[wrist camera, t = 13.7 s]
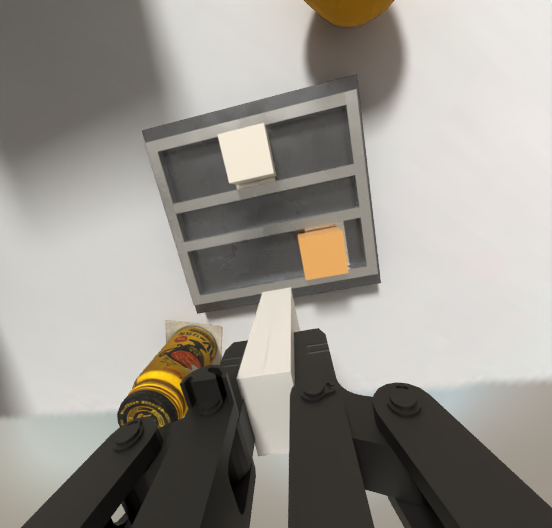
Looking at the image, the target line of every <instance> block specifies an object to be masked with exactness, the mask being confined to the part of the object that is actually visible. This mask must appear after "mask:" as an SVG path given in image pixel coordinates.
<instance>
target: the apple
mask: <svg viewBox="0 0 552 528" xmlns="http://www.w3.org/2000/svg"><path fill="white" fill-rule="evenodd" d="M304 1H305V2H306V3H307V4H308V5H309V6H310V7H311V8H312V9H314V10H315V11H316V12H317V13H318V14H319V15H320V16H321V17H323V18H324V19H326V20H327V21H329V22H331V23H332V24H334V25H337V26H341V27H353V26H360V25H362V24H364V23H366V22H368V21H370V20H372V19H373V18H375V17H377V16H379V15H380V14H381V13H382V12H384V11H385V10H386V9H387V8H388V7H389V6H390V5H391V4H392V2H393V1H394V0H304Z"/></svg>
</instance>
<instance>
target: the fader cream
mask: <svg viewBox="0 0 552 528" xmlns="http://www.w3.org/2000/svg"><path fill="white" fill-rule="evenodd" d="M217 135H218V139H219V143H220V147H221V151H222V156H223V160H224V164H225V168H226V172H227V176H228V181H229V183H230V184H235V185H240V184H244V183H248V182H253V181H257V180H262V179H266V178H271V177H275V176H276V171H275V166H274V161H273V156H272V151H271V146H270V141H269V136H268V132H267V129H266V127H265V124H264V123H261V124H257V125H253V126H249V127H245V128H241V129H237V130H233V131H229V132H225V133H221V134H217Z"/></svg>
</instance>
